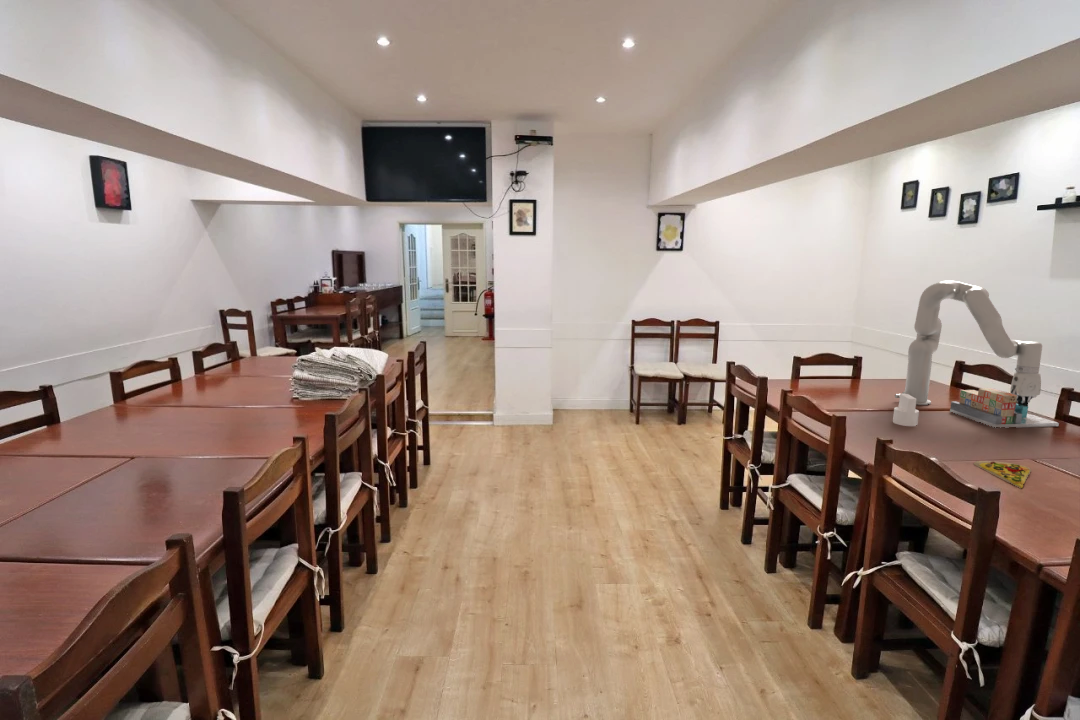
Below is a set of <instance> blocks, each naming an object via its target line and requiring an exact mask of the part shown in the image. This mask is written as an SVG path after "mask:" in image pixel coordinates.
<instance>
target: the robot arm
mask: <svg viewBox="0 0 1080 720" xmlns="http://www.w3.org/2000/svg"><path fill="white" fill-rule="evenodd" d="M989 295H990V294H989V291H988V289H986V288H983V287H981V286H978V285H972V284H968V283H964V282H961V281H956V280H952V279H951V280H948V279H947V280H942V281H939V282H938V281H937V282H936V283H933V284H931V285H929V286H928V287H926V288H925V289H924V291H923V292H922V294H921V295H920V297H919V302H918V307H917V311H916V316H915V322H914V325H913V326H914V327H913V328H914V330H915V333H916V338H915V340H913V341H912V342H911V343H910V344H909V347H908V352H907V353H908V354H907V358H908V359H907V371H906V378H905V388H904V391H902V393H896V394H895V395H894V398H895V399H900V394H909V395H910V396H912V397H914V398H916V406H929V405H931V404H932V401H931V400H930V399H928V398H929V397H928V396H929V391H930V381H931V374H932V373H931V372H932V367H933V366H932V363H933V361H932V360H933V354H935V353H936V352H937V351H938V348H939V343H940V339H941V333H942V332H941V331H942V326H943V325H942V320H941V319H940V317H939V314H940V309H941V303H942V301H943V300H948V299H950V300H954V301H957V302H961V303H964V304H965V306H966V307H967V310H969V313H970V314H971V315H972V317H973V319H974V320H975V322H976V323H977V325H978V327H979V329H980V331H981V333H982V335H983V337H984V339H985V340H986V342H987V344H988V345H989V347H990V348H991V350H992V351H993V353H994V354H995V355H996V357H999V358H1001V359H1009V358H1012V357H1014V356H1015V357H1017V361H1016V367H1015V368H1014V370H1015V372H1014V374H1013V377H1012V380H1011V385H1010V394H1014V395H1017V399H1016V402H1017V404H1021V405H1024V406H1028V407H1029V403H1030V402H1031V400H1033V399H1034V398H1036V397H1038V396H1039V395H1041V390H1042V379H1041V373H1040V366H1041V359H1042V351H1043V344H1042V343H1041V342H1040V341H1034V340H1033V341H1031V340H1025V341H1023V340H1017V339H1012V338H1010V336H1009V335H1008V333H1007V332H1006V330H1005V327H1004V325H1003V320H1002V316H1001V314H1000V313H999V311H998V310H997V308H996V307H995V305H994V304H993V302H992V300H991V299H990V296H989ZM928 404H929V405H928Z"/></svg>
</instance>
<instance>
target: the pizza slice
mask: <svg viewBox="0 0 1080 720" xmlns="http://www.w3.org/2000/svg"><path fill="white" fill-rule="evenodd" d="M973 465H974V466H976V467H978V468H980V469H981V468H982V470H983V469H984V471H985V472H987V473H990V474H991V475H993V476H995V477H997V478H999V479H1001V480H1003V481H1004V482H1007V483H1008V484H1010V483H1011V485H1012V484H1013V486H1014V485H1015V486H1014V487H1016V486H1017V488H1018V487H1019V488H1018V489H1023V487H1024V485H1023V484H1026V481H1027V480H1026V479H1028V478H1027V477H1029V476H1030V475H1031V473H1032V469H1031V467H1029V466H1027V465H1026V466H1025V465H1020V464H1017V463H1016V464H1015V463H1010V462H1002V461H994V460H993V461H992V460H991V461H990V460H977V461H974V463H973ZM1030 472H1031V473H1030ZM1028 475H1029V476H1028Z"/></svg>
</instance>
